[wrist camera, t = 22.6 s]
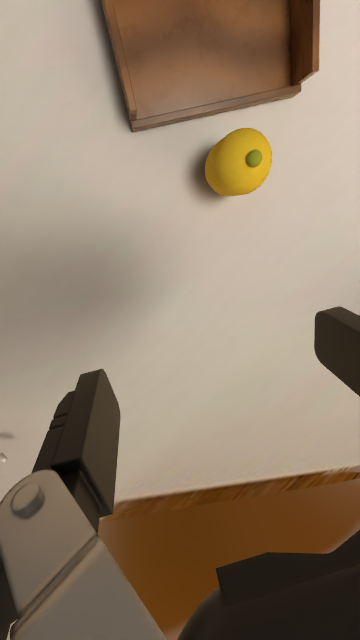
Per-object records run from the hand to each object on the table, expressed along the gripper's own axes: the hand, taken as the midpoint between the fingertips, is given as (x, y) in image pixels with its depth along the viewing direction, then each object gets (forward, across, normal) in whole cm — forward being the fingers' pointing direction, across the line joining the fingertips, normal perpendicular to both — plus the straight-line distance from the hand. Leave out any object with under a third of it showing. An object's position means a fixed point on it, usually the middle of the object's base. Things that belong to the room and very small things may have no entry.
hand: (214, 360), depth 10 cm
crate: (+28, -10, -19) cm, 35 cm away
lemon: (+28, -10, -7) cm, 31 cm away
